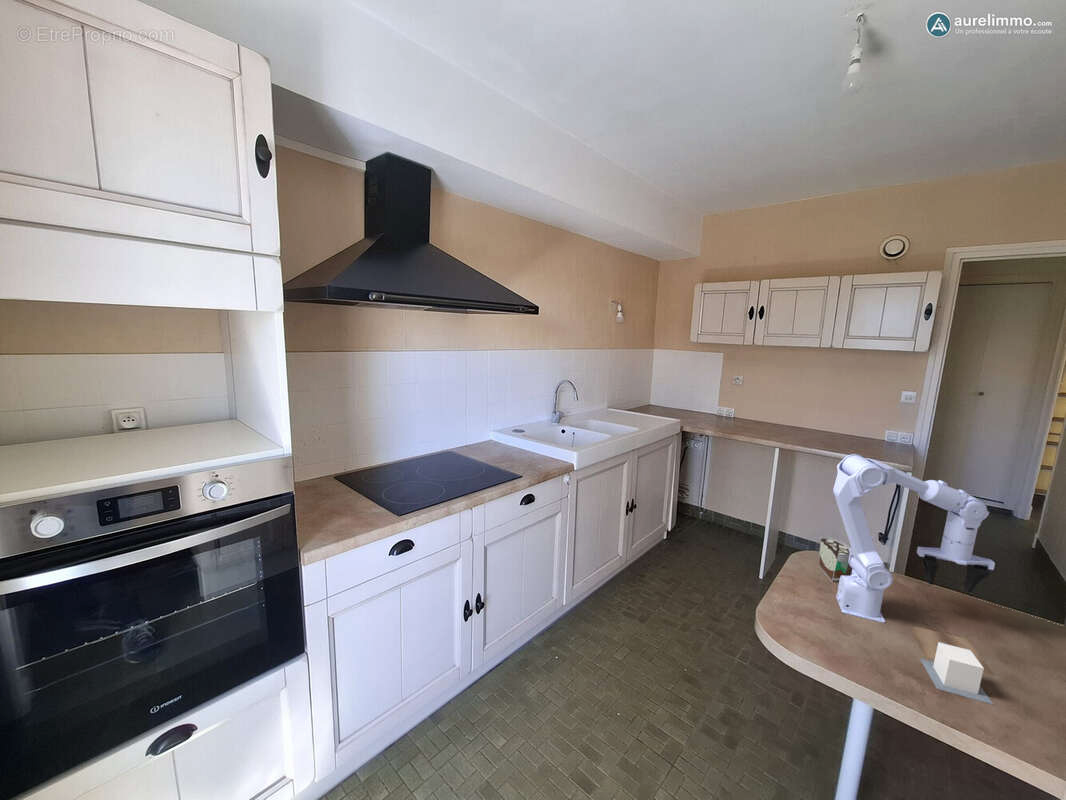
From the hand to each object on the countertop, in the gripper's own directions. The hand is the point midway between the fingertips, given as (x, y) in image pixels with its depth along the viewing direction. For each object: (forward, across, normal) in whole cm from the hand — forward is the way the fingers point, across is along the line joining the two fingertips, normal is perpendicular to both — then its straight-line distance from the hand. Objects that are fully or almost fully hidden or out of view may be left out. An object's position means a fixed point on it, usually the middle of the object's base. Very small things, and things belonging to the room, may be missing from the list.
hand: (948, 586), depth 110 cm
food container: (+11, -21, +13) cm, 27 cm away
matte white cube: (+10, -6, -24) cm, 27 cm away
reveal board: (+10, -3, -12) cm, 16 cm away
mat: (+10, -6, -24) cm, 27 cm away
